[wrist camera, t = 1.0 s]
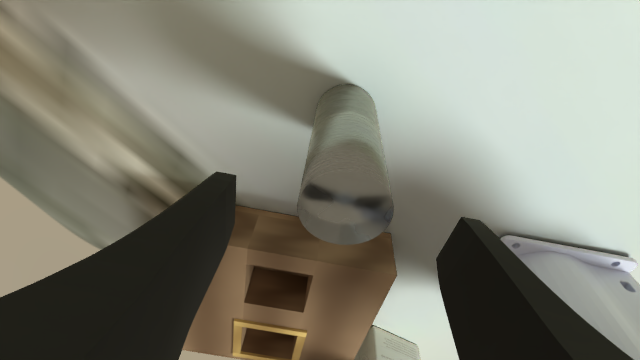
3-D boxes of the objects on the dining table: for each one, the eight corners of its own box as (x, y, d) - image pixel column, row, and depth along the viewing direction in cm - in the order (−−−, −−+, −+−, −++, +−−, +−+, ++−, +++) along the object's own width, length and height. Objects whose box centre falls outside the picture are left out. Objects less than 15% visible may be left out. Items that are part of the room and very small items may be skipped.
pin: (383, 91, 16) (407, 182, 10) (367, 144, 18) (377, 251, 12) (322, 78, 16) (304, 163, 10) (312, 134, 18) (291, 236, 11)
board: (390, 233, 22) (397, 277, 19) (345, 336, 30) (345, 378, 27) (188, 196, 21) (162, 236, 18) (198, 311, 29) (181, 352, 26)
